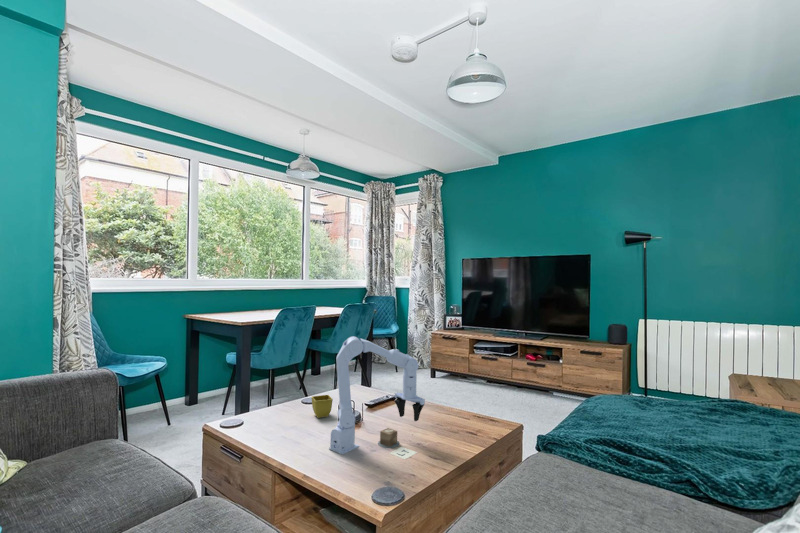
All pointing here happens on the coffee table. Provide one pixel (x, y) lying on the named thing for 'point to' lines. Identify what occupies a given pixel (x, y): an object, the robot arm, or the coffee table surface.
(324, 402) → the flower pot
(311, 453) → the coffee table surface
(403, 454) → the tile
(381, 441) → the walnut block
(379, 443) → the slate coaster
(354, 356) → the robot arm
